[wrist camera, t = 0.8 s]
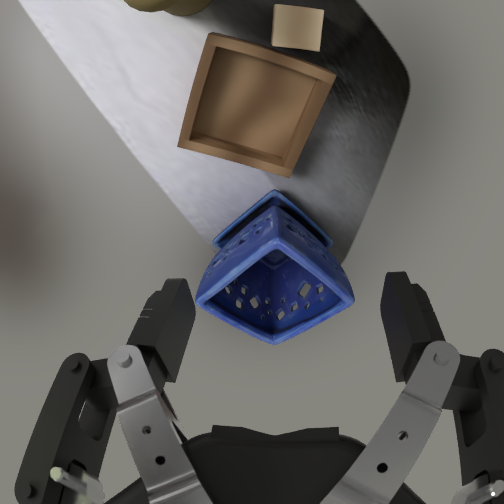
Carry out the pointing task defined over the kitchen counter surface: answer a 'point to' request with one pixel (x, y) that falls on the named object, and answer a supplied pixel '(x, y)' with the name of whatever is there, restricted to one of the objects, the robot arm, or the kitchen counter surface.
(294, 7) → the beech block
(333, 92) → the kitchen counter surface
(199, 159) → the kitchen counter surface
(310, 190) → the kitchen counter surface
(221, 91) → the tray
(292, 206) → the flower pot
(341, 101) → the kitchen counter surface
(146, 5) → the cork
